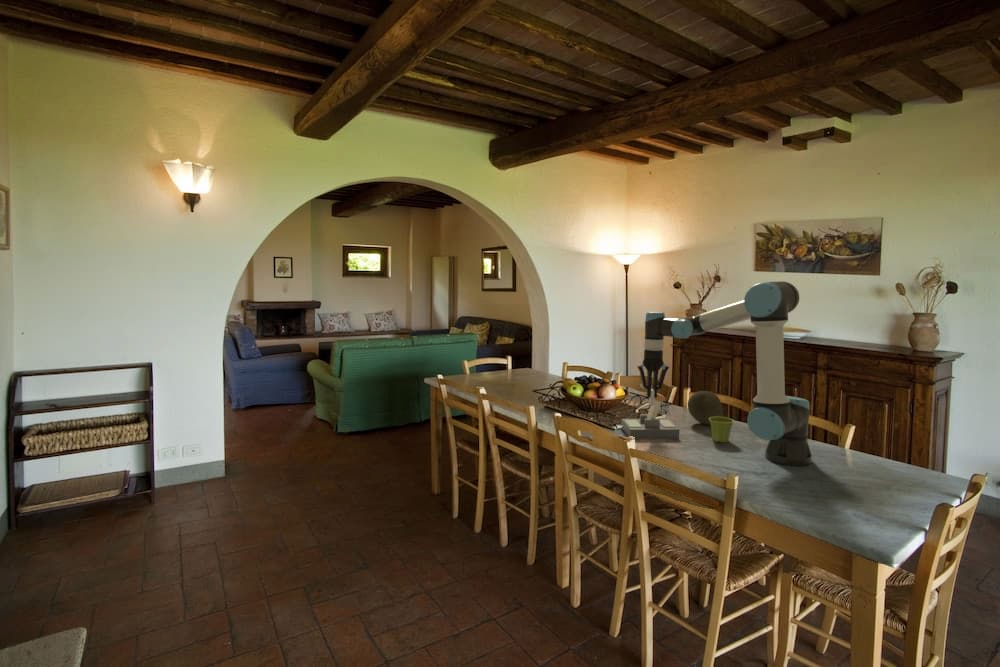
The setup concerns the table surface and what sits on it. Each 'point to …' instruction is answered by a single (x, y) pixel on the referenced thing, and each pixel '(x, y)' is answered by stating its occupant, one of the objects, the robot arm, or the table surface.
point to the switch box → (650, 428)
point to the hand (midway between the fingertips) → (651, 404)
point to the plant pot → (721, 428)
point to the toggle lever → (655, 407)
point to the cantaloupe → (704, 406)
